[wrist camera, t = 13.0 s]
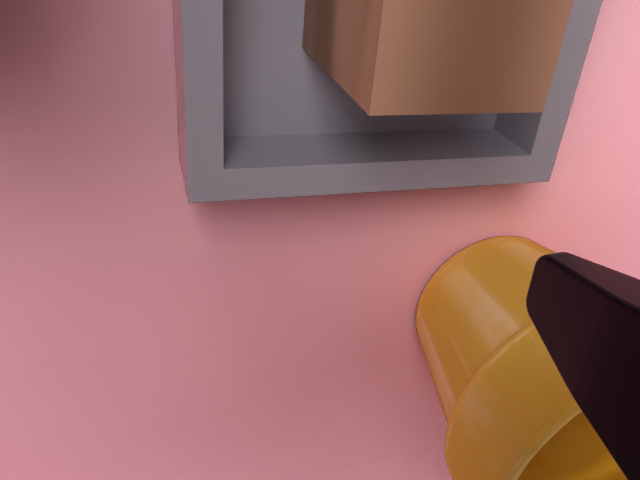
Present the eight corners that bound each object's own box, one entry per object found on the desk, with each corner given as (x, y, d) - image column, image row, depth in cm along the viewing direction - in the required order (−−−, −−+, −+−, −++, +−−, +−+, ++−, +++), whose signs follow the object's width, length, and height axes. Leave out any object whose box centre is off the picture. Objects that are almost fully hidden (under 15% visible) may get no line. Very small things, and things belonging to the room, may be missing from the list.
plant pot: (610, 171, 25) (837, 316, 17) (567, 355, 31) (724, 528, 23) (375, 216, 23) (511, 404, 15) (374, 404, 29) (473, 614, 21)
